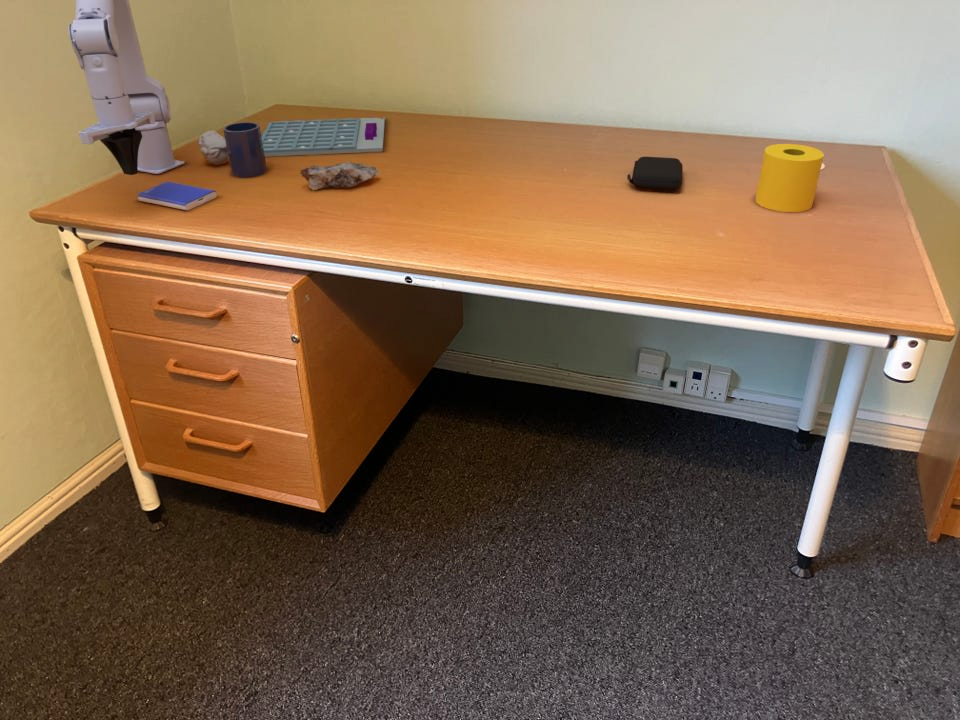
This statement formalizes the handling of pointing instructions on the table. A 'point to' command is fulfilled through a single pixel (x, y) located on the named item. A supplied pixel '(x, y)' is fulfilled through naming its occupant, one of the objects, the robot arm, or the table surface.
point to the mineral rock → (338, 175)
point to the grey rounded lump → (213, 147)
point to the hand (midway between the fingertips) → (130, 173)
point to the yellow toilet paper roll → (789, 177)
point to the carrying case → (657, 174)
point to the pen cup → (245, 149)
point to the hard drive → (177, 195)
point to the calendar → (323, 136)
